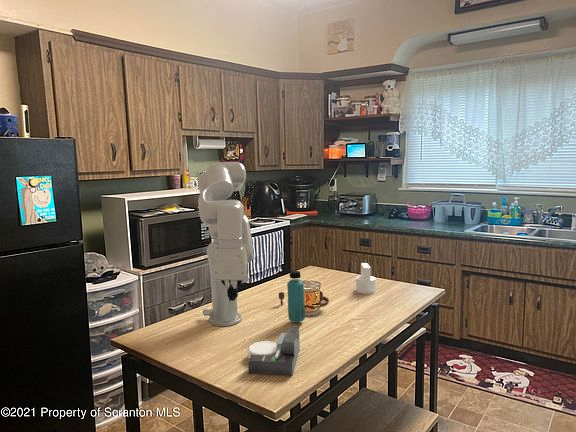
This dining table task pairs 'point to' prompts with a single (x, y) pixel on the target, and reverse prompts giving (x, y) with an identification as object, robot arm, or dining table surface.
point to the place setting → (281, 297)
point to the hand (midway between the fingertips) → (232, 299)
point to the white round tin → (263, 348)
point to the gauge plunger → (280, 345)
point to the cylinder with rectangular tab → (365, 280)
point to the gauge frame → (280, 364)
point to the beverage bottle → (296, 298)
